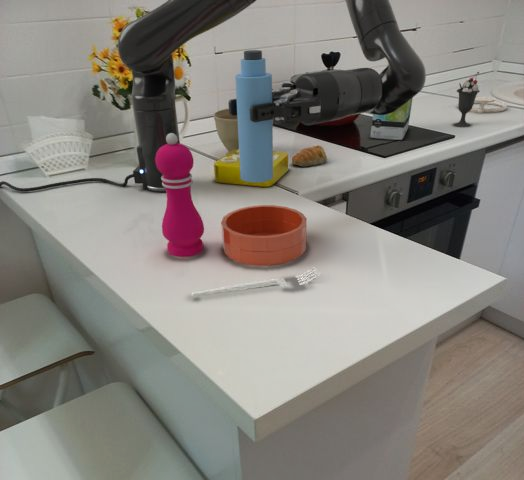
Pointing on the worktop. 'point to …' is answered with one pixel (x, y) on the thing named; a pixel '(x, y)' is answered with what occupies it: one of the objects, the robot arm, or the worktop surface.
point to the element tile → (230, 169)
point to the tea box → (392, 123)
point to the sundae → (466, 99)
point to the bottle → (254, 133)
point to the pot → (264, 235)
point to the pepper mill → (179, 200)
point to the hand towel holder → (487, 101)
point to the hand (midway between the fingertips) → (240, 111)
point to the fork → (260, 284)
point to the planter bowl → (227, 129)
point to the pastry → (310, 156)
